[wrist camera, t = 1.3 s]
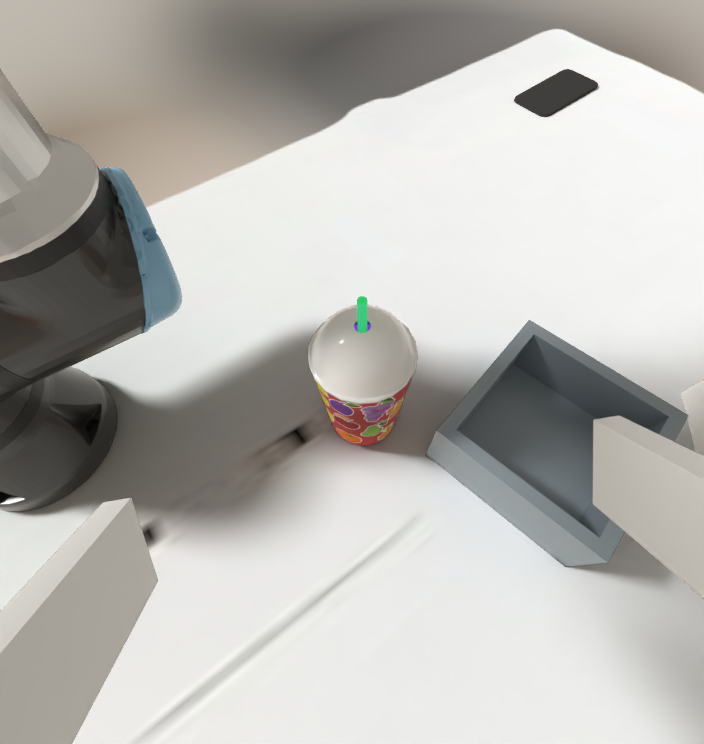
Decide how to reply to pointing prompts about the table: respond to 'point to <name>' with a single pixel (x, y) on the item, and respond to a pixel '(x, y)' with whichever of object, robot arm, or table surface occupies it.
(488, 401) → the tray
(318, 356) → the smoothie
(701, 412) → the triangle block
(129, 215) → the robot arm
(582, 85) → the phone
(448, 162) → the table surface
